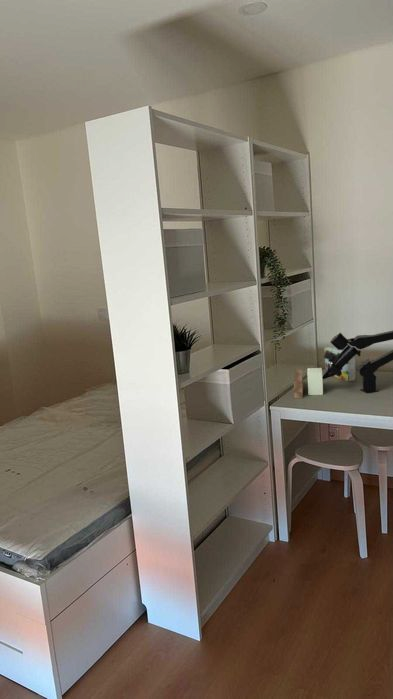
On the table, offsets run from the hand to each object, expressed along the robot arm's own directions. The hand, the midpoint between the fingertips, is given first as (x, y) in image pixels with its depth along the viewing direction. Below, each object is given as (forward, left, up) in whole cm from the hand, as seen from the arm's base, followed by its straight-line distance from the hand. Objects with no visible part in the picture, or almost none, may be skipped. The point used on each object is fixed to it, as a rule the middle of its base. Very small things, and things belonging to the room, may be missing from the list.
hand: (322, 378), depth 266 cm
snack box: (+20, -21, -7) cm, 30 cm away
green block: (+2, +3, -7) cm, 8 cm away
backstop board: (+6, +11, -7) cm, 14 cm away
